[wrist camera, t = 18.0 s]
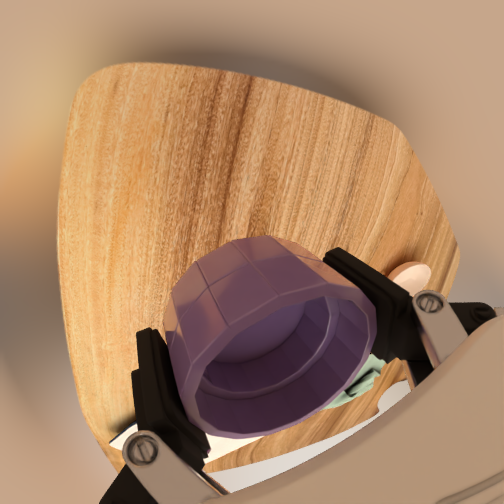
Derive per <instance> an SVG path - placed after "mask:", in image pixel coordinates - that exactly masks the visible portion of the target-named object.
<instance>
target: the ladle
mask: <svg viewBox="0 0 504 504" xmlns="http://www.w3.org/2000/svg"><path fill="white" fill-rule="evenodd" d="M430 276H431V270H430V267H428V266H427V265H426V264H424V263H421V262H407V263H404V264H402V265H400V266H398V267H396V268H395V269H394V270H393V271H392V272H391V273H390V275H389V276H388V277H387V278H389V279H390V280H392V281H393V282H395V283H396V284H398V285H399V286H401V287H402V288H404V289H405V290H407V291H408V292H410V294H409V295H411V296H414V295H415V294H416V293H418V292H419V291H420V290H422V289H423V288H424V287H425V285H426V284H427V282H428V281H429V278H430Z"/></svg>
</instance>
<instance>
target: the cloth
mask: <svg viewBox="0 0 504 504" xmlns="http://www.w3.org/2000/svg"><path fill="white" fill-rule="evenodd" d="M385 363H386V362H385V361H384V360H383V359H382V360H379V359H377V358H376V357H375V356H374V355H373V354H370V355H369V357H368V359H367V361H366V362H365V364H364V365H363V367H362V368H361V370H360V371H359V373H358V374H357V376H356V377H355V378H354V380H353V381H352V383H351V384H350V385H349V386H348V387H347V388H346V389H345V390H344V391H343V392H342V393H341V394H339V395H338V396H337V397H336V398H335V399H334V400H333V401H332V402H331V403H330V404H329V405H327V406H326V407H325V408H323V409H328V408H334V407H337V406H340V405H342V404H344V403H346V402H348V401H351V400H352V399H354V398H355V397H358V396H360V395H362V394H363V393H365V392H366V391H368V390H370V389H371V388H372V387H373V382H374V377H377V376H380V373H381V369H382V367H383V365H384V364H385ZM323 409H322V410H323ZM320 411H321V410H320Z"/></svg>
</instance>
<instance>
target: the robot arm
mask: <svg viewBox="0 0 504 504" xmlns="http://www.w3.org/2000/svg"><path fill="white" fill-rule="evenodd" d="M323 262H324V263H325V264H327V265H329V266H330V267H331V268H333V269H334V270H335V271H337V272H338V273H339V274H341V275H342V276H344V277H345V278H346V279H348V280H349V281H350V282H352V283H353V284H354V285H356V286H357V287H358V288H360V289H361V290H362V292H363V293H364V294H365V295H366V296H367V297H368V299H369V300H370V301H371V302H372V303H373V305H374V306H375V308H376V319H377V335H376V338H375V340H374V343H373V346H372V349H371V353H372V354H373V355H374V356H375V357H376V358H377V359H379V360H382V359H383V360H384V361H385V362H386V363H387V364H388V363H389V362H391V361H392V360H393V359H395V358H396V357H397V358H399V359H400V360H401V362H402V365H403V368H404V371H405V374H406V377H407V380H408V383H409V386H410V389H411V392H410V393H408V394H407V395H406V396H405V397H403V398H402V399H401V400H400V401H399V402H397V403H396V404H395V405H394V406H392V407H391V408H390V409H388V410H387V411H386V412H384V413H383V414H382V415H380V416H379V417H377V418H376V419H375V420H373V421H372V422H371V423H369V424H368V425H366V426H365V427H363V428H362V429H360V430H359V431H357V432H356V433H354V434H353V435H351V436H349V437H348V438H346V439H345V440H343V441H342V442H340V443H338V444H336V445H335V446H333V447H331V448H330V449H328V450H326V451H324V452H323V453H321V454H319V455H317V456H315V457H314V458H311V459H310V460H308V461H306V462H304V463H302V464H300V465H298V466H296V467H294V468H292V469H290V470H287V471H285V472H283V473H281V474H279V475H277V476H274V477H272V478H270V479H267V480H265V481H262V482H260V483H257V484H255V485H252V486H249V487H247V488H244V489H241V490H239V491H236V492H233V493H230V492H229V491H228V490H226V489H225V488H224V487H223V486H221V485H220V484H219V483H218V482H216V481H215V480H214V479H213V478H212V477H210V476H209V475H208V474H207V473H206V472H205V471H204V470H202V469H203V467H204V465H205V463H204V460H203V459H205V458H208V457H209V456H208V453H207V451H206V450H209V449H210V445H209V442H208V440H207V437H206V434H205V432H204V431H202V430H201V429H199V428H198V427H196V426H194V425H193V424H191V423H190V422H189V421H188V419H187V416H186V414H185V411H184V408H183V405H182V402H181V399H180V396H179V392H178V388H177V384H176V380H175V376H174V372H173V368H172V364H171V360H170V355H169V351H168V346H167V345H166V343H165V341H164V340H163V338H162V337H161V335H160V333H159V332H158V330H157V329H154V330H152V329H151V328H150V327H149V328H146V329H144V330H141V331H138V332H137V333H136V339H137V352H138V363H139V369H136V370H134V371H132V373H131V378H132V389H133V398H134V407H135V414H136V421H137V428H138V431H137V432H135V433H133V434H131V435H130V436H129V437H128V438H127V439H126V440H125V442H124V444H123V448H122V455H123V458H124V460H125V462H126V464H125V466H124V467H123V469H122V470H121V471H120V473H119V474H118V476H117V477H116V479H115V480H114V482H113V483H112V484H111V486H110V487H109V489H108V490H107V492H106V493H105V494H104V496H103V497H102V499H101V500H100V502H99V504H504V308H499V307H495V308H494V310H493V309H492V308H491V307H490V306H489V305H487V304H485V303H480V302H470V303H469V302H468V303H448V302H447V300H446V299H445V297H444V296H443V295H442V294H440V293H439V292H436V291H433V290H422V291H420V292H418V293H416V294H415V295H414V297H412V296H411V295H409V294H410V292H408V291H407V290H405V289H404V288H402V287H401V286H399V285H398V284H396V283H395V282H393V281H392V280H390V279H389V278H387V277H386V276H384V275H382V274H381V273H379V272H378V271H376V270H375V269H373V268H372V267H370V266H368V265H367V264H365V263H364V262H362V261H361V260H359V259H357V258H356V257H354V256H353V255H351V254H349V253H348V252H346V251H345V250H343V249H341V248H339V247H337V248H335V249H332V250H330V251H328V252H326V254H325V257H324V258H323Z"/></svg>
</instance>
